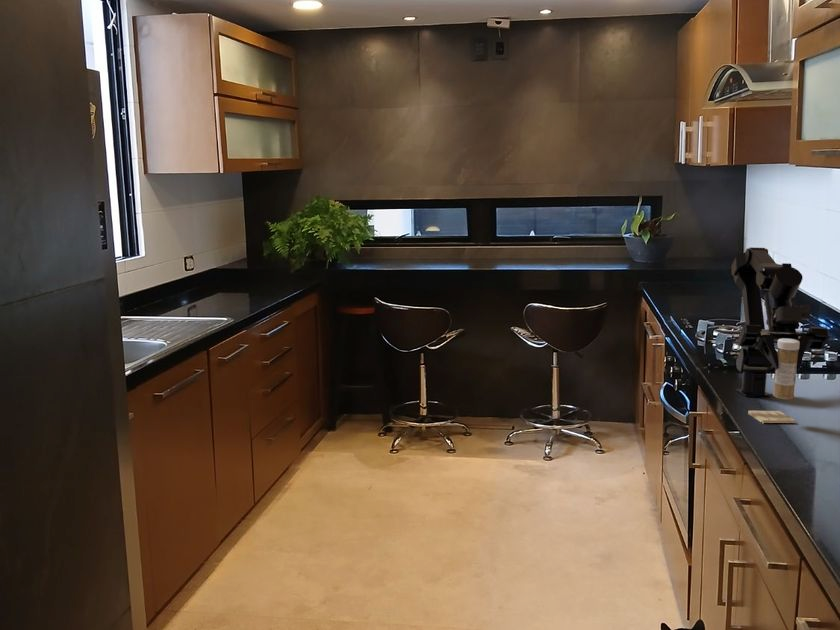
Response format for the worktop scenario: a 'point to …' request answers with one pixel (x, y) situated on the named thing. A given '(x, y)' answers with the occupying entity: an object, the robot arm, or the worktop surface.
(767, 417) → the trivet
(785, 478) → the worktop surface
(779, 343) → the sprinkles bottle
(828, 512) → the worktop surface
